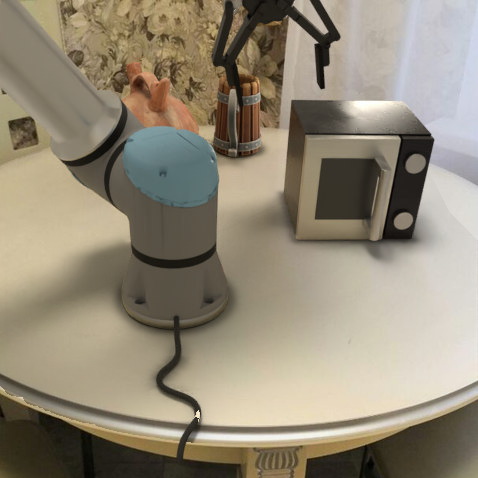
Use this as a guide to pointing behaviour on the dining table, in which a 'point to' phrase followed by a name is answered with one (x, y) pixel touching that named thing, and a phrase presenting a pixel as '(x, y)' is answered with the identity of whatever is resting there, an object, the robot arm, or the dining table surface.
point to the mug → (238, 118)
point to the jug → (156, 101)
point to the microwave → (364, 123)
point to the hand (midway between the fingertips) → (280, 94)
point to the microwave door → (345, 186)
